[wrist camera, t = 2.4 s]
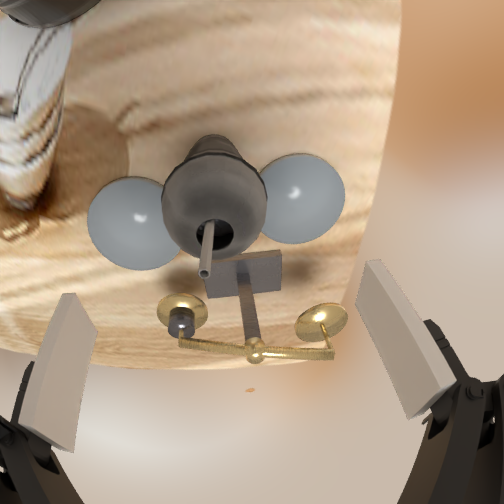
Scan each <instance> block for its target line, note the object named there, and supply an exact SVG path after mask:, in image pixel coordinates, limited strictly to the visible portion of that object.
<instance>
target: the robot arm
mask: <svg viewBox="0 0 504 504" xmlns="http://www.w3.org/2000/svg"><path fill="white" fill-rule="evenodd" d="M99 1H100V0H0V10H1V11H2V12H4V13H6V14H8V15H9V17H10V18H11V19H12V20H13V21H15V22H16V23H18V24H20V25H23V26H27V27H37V28H47V27H53V26H57V25H60V24H63V23H66V22H68V21H70V20H72V19H74V18H76V17H78V16H80V15H81V14H83V13H85V12H86V11H87V10H89V9H90V8H92V7H93V6H94V5H96V4H97V3H98V2H99ZM355 306H356V307H357V309H358V311H359V313H360V316H361V317H362V320H363V322H364V324H365V326H366V328H367V330H368V332H369V334H370V336H371V338H372V340H373V342H374V344H375V346H376V348H377V350H378V352H379V355H380V357H381V359H382V361H383V363H384V365H385V368H386V370H387V372H388V374H389V377H390V379H391V381H392V383H393V386H394V388H395V390H396V393H397V395H398V397H399V400H400V401H401V404H402V407H403V409H404V412H405V414H406V416H407V419H408V420H410V419H413V418H415V417H417V416H420V415H422V414H424V413H425V412H426V411H427V410H428V409H429V408H430V409H431V411H432V413H431V414H429V415H428V416H427V417H426V418H425V419H424V420H423V422H422V424H425V423H426V422H427V421H428V424H427V427H426V431H425V434H424V437H423V440H422V443H421V446H420V449H419V452H418V455H417V458H416V461H415V463H414V466H413V468H412V471H411V473H410V476H409V478H408V481H407V483H406V485H405V488H404V490H403V492H402V494H401V496H400V499H399V501H398V503H397V504H504V374H503V375H502V376H501V377H500V378H499V379H498V380H497V381H490V382H481V381H480V380H478V379H476V378H471V377H469V376H468V374H467V373H466V371H465V369H464V368H463V366H462V364H461V362H460V360H459V359H458V357H457V355H456V353H455V352H454V350H453V349H452V347H451V346H450V343H449V342H448V340H447V339H445V335H444V334H443V332H442V331H441V329H440V327H439V326H438V325H436V324H435V323H434V322H433V321H432V320H431V319H429V320H425V321H422V319H421V318H420V316H419V315H418V313H417V311H416V310H415V308H414V307H413V305H412V304H411V302H410V301H409V299H408V298H407V296H406V295H405V293H404V292H403V290H402V289H401V287H400V286H399V284H398V283H397V282H396V280H395V279H394V277H393V276H392V275H391V273H390V272H389V270H388V269H387V268H386V266H385V265H384V263H383V262H382V260H381V259H377V260H370V261H366V264H365V268H364V272H363V276H362V280H361V284H360V288H359V291H358V295H357V298H356V302H355ZM97 333H98V331H97V330H96V328H95V326H94V325H93V323H92V321H91V320H90V318H89V316H88V315H87V313H86V311H85V310H84V308H83V306H82V304H81V302H80V301H79V299H78V297H77V295H76V293H64V294H62V296H61V298H60V300H59V303H58V305H57V307H56V309H55V312H54V314H53V316H52V319H51V321H50V324H49V326H48V328H47V331H46V333H45V336H44V339H43V341H42V344H41V347H40V349H39V352H38V355H37V358H36V361H35V362H33V361H31V362H30V364H29V365H28V367H27V368H26V370H25V372H24V375H23V378H22V383H21V385H20V388H19V390H20V391H19V392H18V395H17V398H16V402H15V406H14V410H13V414H12V418H11V421H10V422H9V421H7V420H6V419H4V418H3V417H2V416H1V415H0V466H1V467H3V468H4V472H3V473H2V472H0V504H84V503H83V501H82V500H81V498H80V497H79V495H78V493H77V492H76V490H75V489H74V487H73V485H72V484H71V482H70V480H69V479H68V477H67V475H66V473H65V472H64V470H63V468H62V466H61V464H60V463H59V461H58V459H57V457H56V455H55V453H54V452H53V451H52V450H51V446H54V447H56V448H58V449H60V450H63V451H67V452H71V453H74V446H75V438H76V431H77V424H78V418H79V411H80V405H81V401H82V396H83V390H84V386H85V381H86V377H87V372H88V368H89V364H90V360H91V356H92V352H93V348H94V344H95V340H96V337H97ZM493 417H494V418H495V423H494V422H493Z"/></svg>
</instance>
